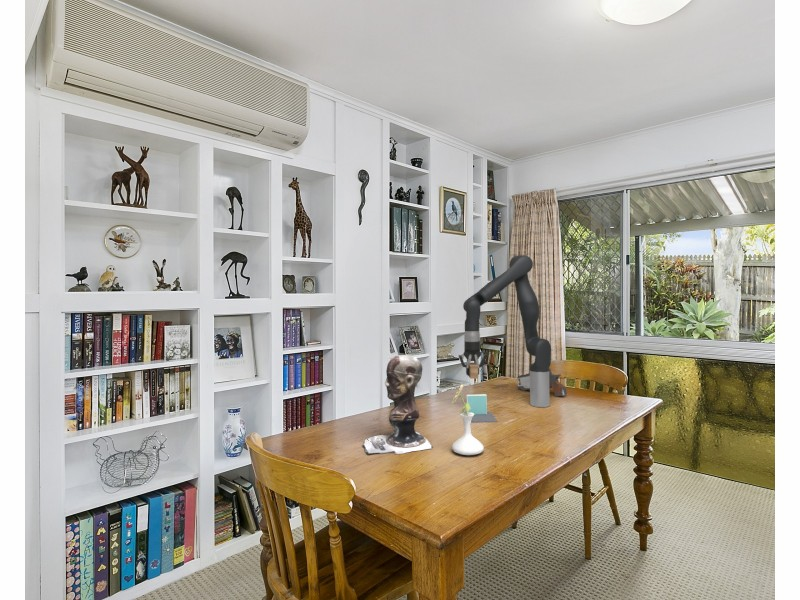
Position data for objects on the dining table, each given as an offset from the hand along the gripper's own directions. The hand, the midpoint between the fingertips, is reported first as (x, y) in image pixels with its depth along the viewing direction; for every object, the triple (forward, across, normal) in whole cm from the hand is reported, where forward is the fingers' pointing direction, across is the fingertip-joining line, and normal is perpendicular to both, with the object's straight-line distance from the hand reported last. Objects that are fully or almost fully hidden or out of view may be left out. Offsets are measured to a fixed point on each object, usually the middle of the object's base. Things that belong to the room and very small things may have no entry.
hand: (472, 375), depth 216 cm
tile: (+16, 0, +10) cm, 19 cm away
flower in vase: (+17, +12, +57) cm, 61 cm away
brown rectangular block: (0, 0, 0) cm, 0 cm away
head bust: (+17, +38, +46) cm, 62 cm away
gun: (+17, -43, -30) cm, 55 cm away
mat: (+17, 0, +14) cm, 22 cm away
